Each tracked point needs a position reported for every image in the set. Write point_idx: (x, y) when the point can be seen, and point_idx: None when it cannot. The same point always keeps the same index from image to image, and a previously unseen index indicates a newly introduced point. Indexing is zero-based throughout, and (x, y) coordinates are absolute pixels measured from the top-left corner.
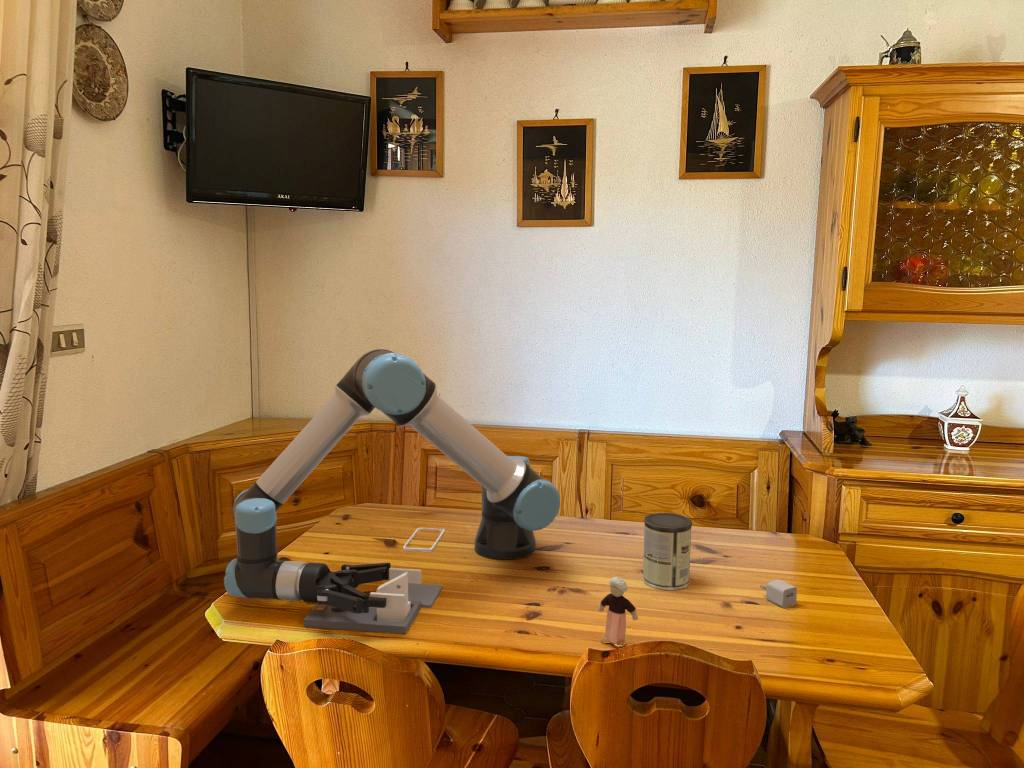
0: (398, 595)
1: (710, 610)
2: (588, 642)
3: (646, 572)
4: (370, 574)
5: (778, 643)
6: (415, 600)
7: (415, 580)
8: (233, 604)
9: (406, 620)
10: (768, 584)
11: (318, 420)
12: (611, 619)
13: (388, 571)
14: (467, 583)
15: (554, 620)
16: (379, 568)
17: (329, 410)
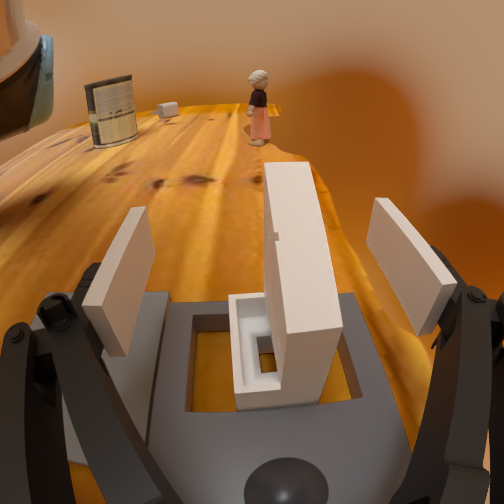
0: (395, 207)
1: (181, 125)
2: (265, 150)
3: (116, 132)
4: (126, 424)
5: (233, 114)
6: (135, 334)
7: (148, 254)
8: None
9: None
10: (163, 106)
11: None
12: (260, 117)
13: (87, 330)
14: (47, 261)
15: (212, 166)
16: (71, 363)
17: None
